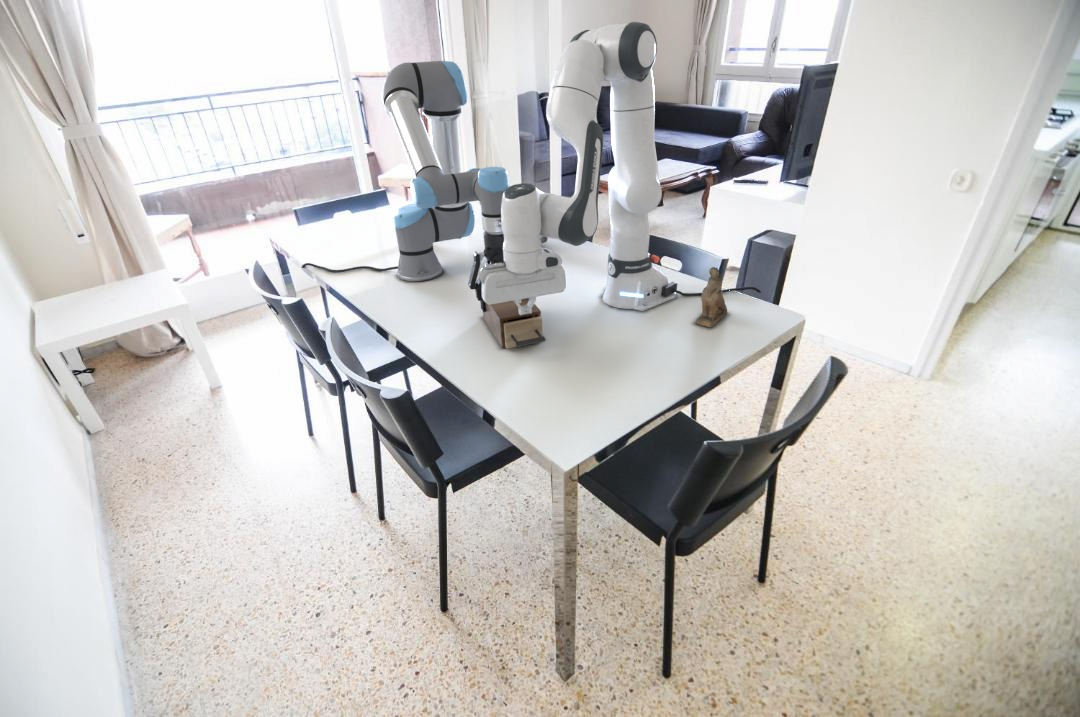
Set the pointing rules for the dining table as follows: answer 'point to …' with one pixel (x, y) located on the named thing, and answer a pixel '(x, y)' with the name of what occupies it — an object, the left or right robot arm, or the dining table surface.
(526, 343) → the drawer
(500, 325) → the cabinet
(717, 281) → the worn brown figurine
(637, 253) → the right robot arm
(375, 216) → the dining table surface
